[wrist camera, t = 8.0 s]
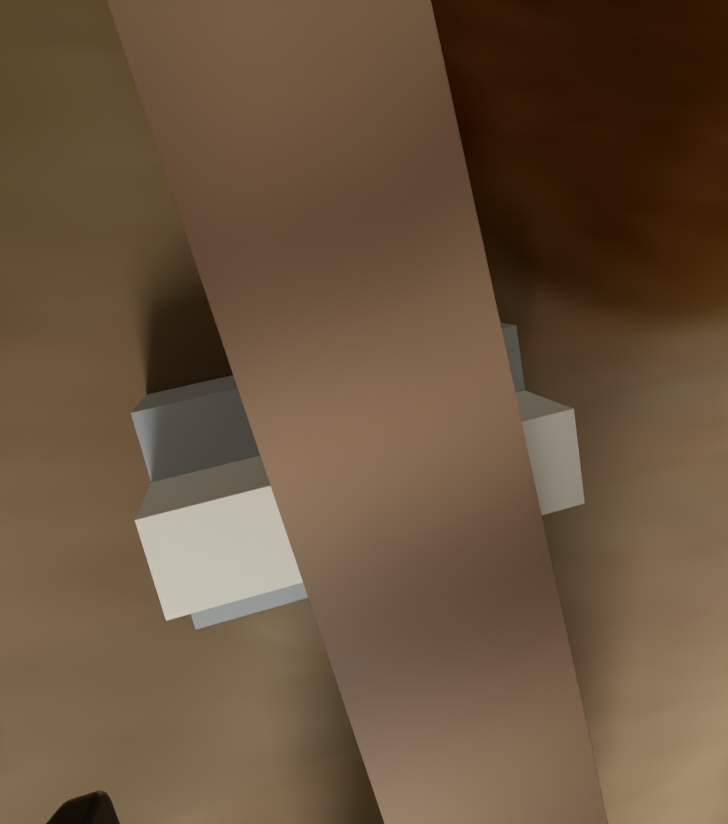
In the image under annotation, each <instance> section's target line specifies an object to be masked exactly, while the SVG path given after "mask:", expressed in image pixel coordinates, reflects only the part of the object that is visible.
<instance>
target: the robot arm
mask: <svg viewBox="0 0 728 824" xmlns="http://www.w3.org/2000/svg"><path fill="white" fill-rule="evenodd" d="M46 824H120V823H119V820H118V818H117V815H116V812H115V809H114V807H113V804H112V801H111V799H110V797H109V796H108V794H107V793H106V792H104V791H96V792H92V793H89V794H86V795H83V796H80V797H76V798H73V799H71V800H68V801H66V802H65V803H64V804H63V805H62V806H61V807H60V808H59V809H58V810H57V811H56V812H55V814H54V815H53V816H52V817H51V818H50V820H49V821H48V822H47V823H46Z"/></svg>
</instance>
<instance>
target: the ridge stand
mask: <svg viewBox="0 0 728 824" xmlns="http://www.w3.org/2000/svg"><path fill="white" fill-rule="evenodd" d="M500 324H501V329H502V333H503V338H504V342H505V347H506V352H507V356H508V361H509V366H510V370H511V375H512V380H513V384H514V389H515V393H516V398H517V403H518V407H519V412H520V417H521V421H522V426H523V431H524V435H525V440H526V444H527V449H528V454H529V458H530V463H531V468H532V472H533V477H534V482H535V486H536V491H537V495H538V500H539V505H540V509H541V514H542V515H545V514H549V513H552V512H556V511H560V510H563V509H567V508H570V507H574V506H577V505H581V504H585V502H584V493H583V484H582V475H581V467H580V458H579V449H578V441H577V432H576V423H575V415H574V409H573V408H571V407H568V406H565V405H563V404H560V403H557V402H555V401H552V400H549V399H547V398H544V397H541V396H539V395H536V394H533V393H531V392H528V391H525V386H524V378H523V371H522V363H521V356H520V348H519V341H518V334H517V326H516V325H513V324H506V323H500ZM131 416H132V419H133V422H134V426H135V429H136V432H137V436H138V439H139V442H140V446H141V449H142V452H143V456H144V459H145V462H146V466H147V469H148V472H149V476H150V479H151V485H150V487H149V489H148V491H147V494H146V496H145V498H144V500H143V503H142V505H141V507H140V509H139V512H138V514H137V516H136V518H135V523H136V526H137V529H138V532H139V535H140V539H141V542H142V545H143V548H144V551H145V555H146V558H147V561H148V564H149V567H150V571H151V574H152V577H153V580H154V583H155V587H156V590H157V593H158V596H159V600H160V603H161V606H162V609H163V612H164V616H165V619H166V621H167V620H170V619H174V618H178V617H181V616H185V615H188V614H191V616H192V619H193V623H194V626H195V629H199V628H203V627H207V626H210V625H214V624H217V623H221V622H224V621H228V620H231V619H235V618H238V617H242V616H245V615H249V614H252V613H256V612H259V611H263V610H266V609H270V608H273V607H277V606H280V605H284V604H287V603H291V602H294V601H298V600H301V599H305V598H308V595H307V592H306V589H305V587H304V584H303V581H302V578H301V575H300V572H299V569H298V566H297V563H296V560H295V557H294V554H293V551H292V548H291V545H290V542H289V539H288V536H287V533H286V530H285V527H284V524H283V521H282V518H281V515H280V512H279V509H278V506H277V503H276V500H275V497H274V495H273V492H272V489H271V486H270V483H269V480H268V477H267V474H266V471H265V468H264V465H263V462H262V459H261V456H260V453H259V450H258V447H257V444H256V441H255V438H254V435H253V432H252V429H251V426H250V423H249V420H248V417H247V414H246V411H245V408H244V406H243V403H242V400H241V397H240V394H239V391H238V388H237V385H236V382H235V379H234V376H233V375H232V376H227V377H223V378H218V379H214V380H209V381H205V382H200V383H196V384H191V385H187V386H183V387H178V388H174V389H169V390H165V391H160V392H156V393H151V394H147V395H145V397H144V398H143V399H142V400H141V401H140V402H139V404H138V405H137V406H136V407H135V408H134V410H133V411H132V412H131Z"/></svg>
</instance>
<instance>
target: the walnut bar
mask: <svg viewBox="0 0 728 824" xmlns="http://www.w3.org/2000/svg"><path fill="white" fill-rule="evenodd" d="M107 2H108V5H109V8H110V11H111V14H112V17H113V20H114V23H115V26H116V29H117V32H118V35H119V38H120V41H121V44H122V47H123V49H124V52H125V55H126V58H127V61H128V64H129V67H130V70H131V73H132V76H133V79H134V82H135V85H136V88H137V91H138V94H139V97H140V100H141V103H142V106H143V109H144V112H145V115H146V118H147V121H148V124H149V127H150V130H151V133H152V136H153V139H154V141H155V144H156V147H157V150H158V153H159V156H160V159H161V162H162V165H163V168H164V171H165V174H166V177H167V180H168V183H169V186H170V189H171V192H172V195H173V198H174V201H175V204H176V207H177V210H178V213H179V216H180V219H181V222H182V225H183V228H184V230H185V233H186V236H187V239H188V242H189V245H190V248H191V251H192V254H193V257H194V260H195V263H196V266H197V269H198V272H199V275H200V278H201V281H202V284H203V287H204V290H205V293H206V296H207V299H208V302H209V305H210V308H211V311H212V314H213V317H214V319H215V322H216V325H217V328H218V331H219V334H220V337H221V340H222V343H223V346H224V349H225V352H226V355H227V358H228V361H229V364H230V367H231V370H232V373H233V376H234V379H235V382H236V385H237V388H238V391H239V394H240V397H241V400H242V403H243V406H244V408H245V411H246V414H247V417H248V420H249V423H250V426H251V429H252V432H253V435H254V438H255V441H256V444H257V447H258V450H259V453H260V456H261V459H262V462H263V465H264V468H265V471H266V474H267V477H268V480H269V483H270V486H271V489H272V492H273V495H274V497H275V500H276V503H277V506H278V509H279V512H280V515H281V518H282V521H283V524H284V527H285V530H286V533H287V536H288V539H289V542H290V545H291V548H292V551H293V554H294V557H295V560H296V563H297V566H298V569H299V572H300V575H301V578H302V581H303V584H304V587H305V589H306V592H307V595H308V598H309V601H310V604H311V607H312V610H313V613H314V616H315V619H316V622H317V625H318V628H319V631H320V634H321V637H322V640H323V643H324V646H325V649H326V652H327V655H328V658H329V661H330V664H331V667H332V670H333V673H334V676H335V678H336V681H337V684H338V687H339V690H340V693H341V696H342V699H343V702H344V705H345V708H346V711H347V714H348V717H349V720H350V723H351V726H352V729H353V732H354V735H355V738H356V741H357V744H358V747H359V750H360V753H361V756H362V759H363V762H364V765H365V767H366V770H367V773H368V776H369V779H370V782H371V785H372V788H373V791H374V794H375V797H376V800H377V803H378V806H379V809H380V812H381V815H382V818H383V821H384V824H608V820H607V816H606V811H605V806H604V802H603V797H602V792H601V788H600V783H599V778H598V774H597V769H596V764H595V760H594V755H593V751H592V746H591V741H590V737H589V732H588V727H587V723H586V718H585V713H584V709H583V704H582V700H581V695H580V690H579V686H578V681H577V676H576V672H575V667H574V662H573V658H572V653H571V649H570V644H569V639H568V635H567V630H566V625H565V621H564V616H563V611H562V607H561V602H560V598H559V593H558V588H557V584H556V579H555V574H554V570H553V565H552V560H551V556H550V551H549V547H548V542H547V537H546V533H545V528H544V523H543V519H542V514H541V509H540V505H539V500H538V495H537V491H536V486H535V482H534V477H533V472H532V468H531V463H530V458H529V454H528V449H527V444H526V440H525V435H524V431H523V426H522V421H521V417H520V412H519V407H518V403H517V398H516V393H515V389H514V384H513V380H512V375H511V370H510V366H509V361H508V356H507V352H506V347H505V342H504V338H503V333H502V329H501V324H500V319H499V315H498V310H497V305H496V301H495V296H494V291H493V287H492V282H491V277H490V273H489V268H488V264H487V259H486V254H485V250H484V245H483V240H482V236H481V231H480V226H479V222H478V217H477V213H476V208H475V203H474V199H473V194H472V189H471V185H470V180H469V175H468V171H467V166H466V162H465V157H464V152H463V148H462V143H461V138H460V134H459V129H458V124H457V120H456V115H455V111H454V106H453V101H452V97H451V92H450V87H449V83H448V78H447V73H446V69H445V64H444V60H443V55H442V50H441V46H440V41H439V36H438V32H437V27H436V22H435V18H434V13H433V8H432V4H431V0H107Z"/></svg>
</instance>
